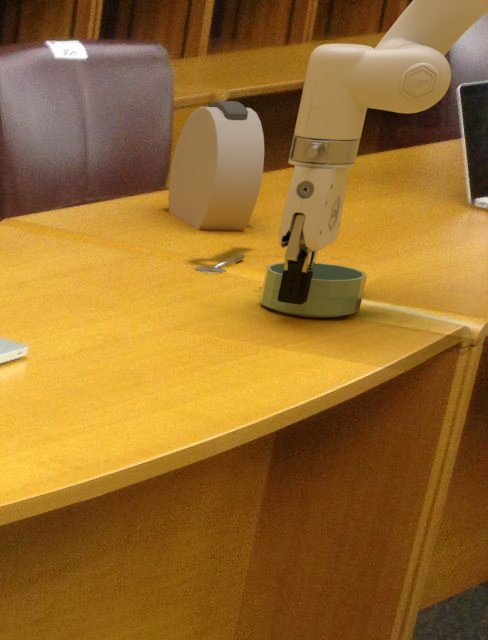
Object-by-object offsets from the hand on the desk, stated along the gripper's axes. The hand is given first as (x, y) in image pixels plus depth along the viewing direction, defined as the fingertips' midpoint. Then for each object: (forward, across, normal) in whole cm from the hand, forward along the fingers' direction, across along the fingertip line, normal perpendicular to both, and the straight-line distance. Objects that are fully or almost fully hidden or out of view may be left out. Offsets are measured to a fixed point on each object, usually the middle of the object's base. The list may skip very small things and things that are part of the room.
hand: (291, 301), depth 196 cm
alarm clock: (+2, +60, +31) cm, 67 cm away
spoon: (+2, +28, +18) cm, 33 cm away
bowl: (+2, +8, 0) cm, 8 cm away
